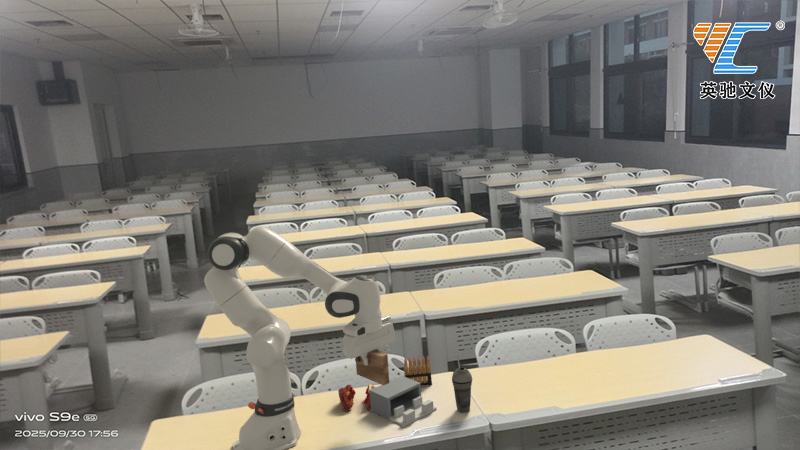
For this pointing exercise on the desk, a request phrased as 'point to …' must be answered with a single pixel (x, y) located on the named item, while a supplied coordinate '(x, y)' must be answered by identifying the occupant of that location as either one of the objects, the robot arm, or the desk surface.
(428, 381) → the ammunition clip
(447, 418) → the desk surface
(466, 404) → the beverage cup
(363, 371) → the door
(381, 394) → the cabinet
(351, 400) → the teeth
